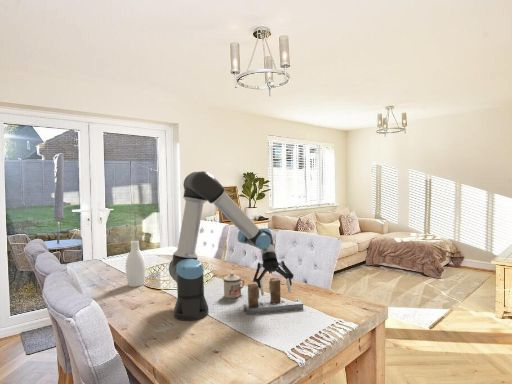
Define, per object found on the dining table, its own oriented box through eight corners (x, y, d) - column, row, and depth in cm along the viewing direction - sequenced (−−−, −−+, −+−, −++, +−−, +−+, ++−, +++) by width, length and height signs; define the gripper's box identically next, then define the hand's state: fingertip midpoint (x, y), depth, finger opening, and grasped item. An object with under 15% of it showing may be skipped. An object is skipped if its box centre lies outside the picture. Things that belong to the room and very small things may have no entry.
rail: (245, 314, 147) (245, 309, 147) (243, 308, 154) (243, 303, 154) (304, 309, 152) (304, 303, 152) (299, 303, 159) (299, 298, 159)
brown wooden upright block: (271, 303, 159) (270, 280, 159) (269, 300, 163) (268, 278, 163) (280, 302, 160) (280, 280, 160) (278, 300, 164) (278, 277, 164)
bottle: (147, 286, 192) (145, 242, 191) (126, 288, 188) (124, 243, 187) (145, 280, 202) (144, 239, 201) (126, 283, 198) (124, 240, 197)
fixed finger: (249, 311, 151) (249, 287, 151) (248, 307, 155) (247, 284, 155) (259, 310, 152) (259, 286, 152) (258, 306, 156) (257, 283, 156)
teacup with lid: (229, 299, 166) (229, 276, 166) (220, 295, 173) (219, 272, 173) (249, 294, 173) (248, 272, 173) (239, 290, 181) (239, 268, 180)
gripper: (290, 257, 179) (299, 294, 165) (244, 260, 174) (250, 298, 160) (293, 249, 174) (303, 287, 159) (245, 252, 169) (251, 291, 155)
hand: (276, 293), depth 160 cm, fingers open, 13 cm apart
